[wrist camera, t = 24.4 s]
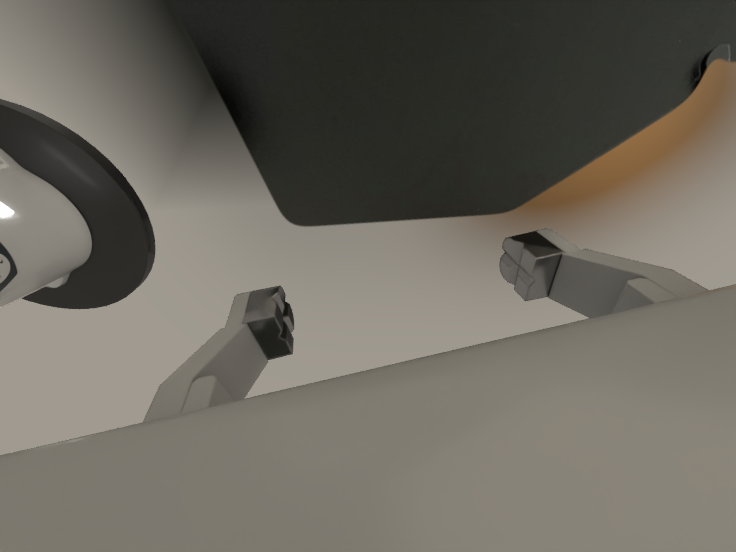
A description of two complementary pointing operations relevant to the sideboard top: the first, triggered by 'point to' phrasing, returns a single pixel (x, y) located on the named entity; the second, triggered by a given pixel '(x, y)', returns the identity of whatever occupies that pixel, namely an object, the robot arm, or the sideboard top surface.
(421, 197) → the sideboard top surface
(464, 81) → the sideboard top surface
